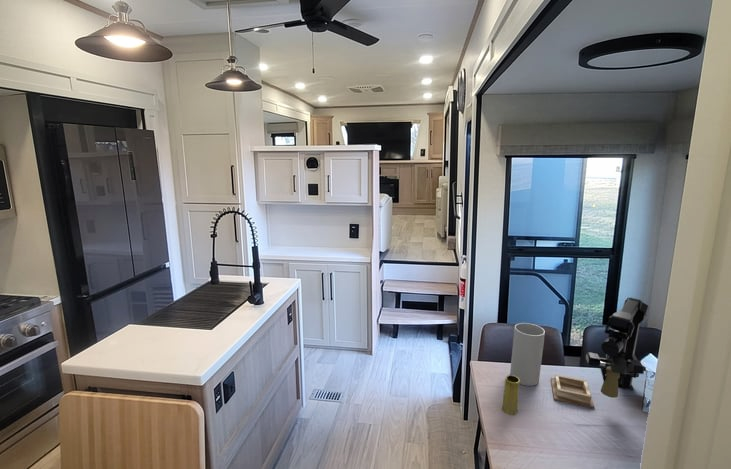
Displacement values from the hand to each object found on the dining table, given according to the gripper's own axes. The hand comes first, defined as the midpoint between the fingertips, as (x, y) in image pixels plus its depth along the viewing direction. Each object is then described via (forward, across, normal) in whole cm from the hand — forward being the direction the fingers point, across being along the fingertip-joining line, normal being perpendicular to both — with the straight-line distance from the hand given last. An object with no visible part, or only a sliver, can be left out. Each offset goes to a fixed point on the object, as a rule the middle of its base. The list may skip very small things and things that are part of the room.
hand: (610, 381), depth 151 cm
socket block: (+13, -12, +7) cm, 19 cm away
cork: (+5, 0, 0) cm, 5 cm away
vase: (+13, -37, -15) cm, 42 cm away
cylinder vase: (+13, -31, +11) cm, 35 cm away
